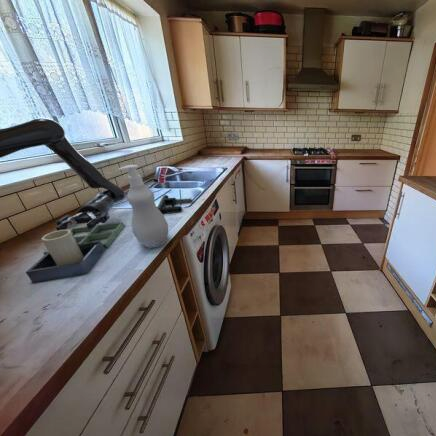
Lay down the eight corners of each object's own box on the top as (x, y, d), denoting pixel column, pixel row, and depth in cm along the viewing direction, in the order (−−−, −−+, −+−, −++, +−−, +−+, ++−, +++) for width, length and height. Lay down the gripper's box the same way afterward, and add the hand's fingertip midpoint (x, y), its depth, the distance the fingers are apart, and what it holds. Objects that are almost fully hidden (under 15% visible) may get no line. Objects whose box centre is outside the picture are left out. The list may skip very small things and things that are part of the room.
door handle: (191, 193, 129) (160, 194, 124) (188, 206, 112) (151, 209, 107) (192, 198, 130) (161, 200, 125) (189, 213, 113) (153, 215, 108)
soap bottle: (136, 236, 91) (110, 163, 78) (168, 228, 97) (148, 159, 84) (139, 257, 78) (108, 174, 65) (175, 246, 84) (153, 168, 71)
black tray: (32, 282, 67) (25, 272, 65) (59, 256, 79) (54, 247, 77) (86, 273, 71) (81, 263, 69) (105, 250, 82) (100, 240, 81)
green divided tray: (45, 257, 79) (42, 252, 78) (74, 231, 94) (71, 227, 94) (107, 248, 83) (105, 243, 82) (124, 225, 99) (123, 221, 98)
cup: (53, 271, 71) (36, 241, 66) (65, 259, 77) (50, 231, 72) (78, 267, 73) (63, 238, 68) (88, 256, 78) (75, 228, 73)
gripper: (70, 203, 88) (43, 221, 74) (112, 199, 92) (94, 216, 78) (78, 220, 92) (53, 241, 78) (118, 216, 95) (102, 234, 81)
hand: (73, 228), depth 78 cm, fingers open, 8 cm apart
